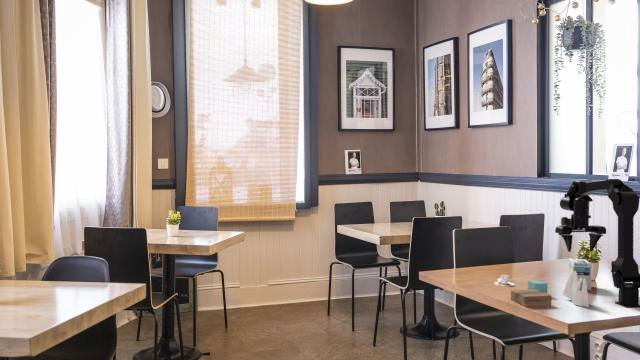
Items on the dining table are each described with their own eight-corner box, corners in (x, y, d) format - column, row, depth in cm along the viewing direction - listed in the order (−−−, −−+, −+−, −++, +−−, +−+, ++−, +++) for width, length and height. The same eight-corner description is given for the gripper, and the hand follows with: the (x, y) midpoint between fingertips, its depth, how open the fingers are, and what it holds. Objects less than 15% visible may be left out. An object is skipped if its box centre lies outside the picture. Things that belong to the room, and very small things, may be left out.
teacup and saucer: (497, 281, 257) (497, 272, 257) (517, 284, 253) (517, 274, 253) (491, 285, 250) (492, 275, 250) (511, 288, 246) (512, 277, 245)
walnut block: (551, 306, 215) (551, 295, 215) (524, 308, 213) (525, 296, 213) (535, 300, 225) (536, 289, 225) (510, 301, 223) (510, 290, 223)
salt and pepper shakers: (562, 298, 226) (562, 268, 226) (573, 298, 227) (573, 268, 226) (577, 307, 214) (578, 275, 214) (589, 306, 215) (590, 275, 214)
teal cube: (547, 296, 230) (547, 283, 230) (534, 297, 229) (535, 283, 229) (539, 293, 235) (540, 280, 234) (527, 294, 234) (528, 281, 234)
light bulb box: (591, 290, 240) (592, 263, 240) (573, 289, 241) (573, 262, 241) (585, 285, 251) (586, 258, 250) (567, 284, 252) (568, 258, 251)
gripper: (591, 210, 253) (590, 248, 254) (548, 210, 250) (547, 248, 251) (607, 212, 242) (606, 252, 243) (563, 213, 239) (562, 253, 240)
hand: (580, 251), depth 244 cm, fingers open, 9 cm apart
